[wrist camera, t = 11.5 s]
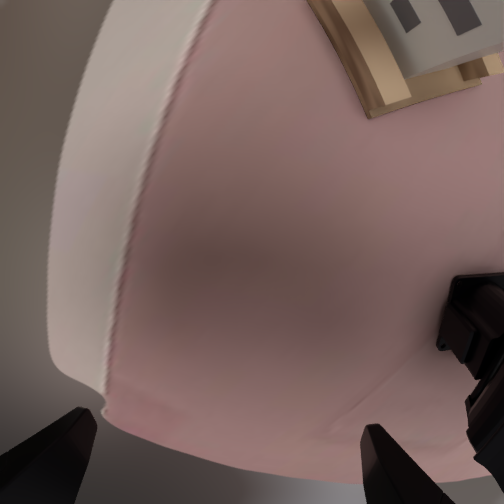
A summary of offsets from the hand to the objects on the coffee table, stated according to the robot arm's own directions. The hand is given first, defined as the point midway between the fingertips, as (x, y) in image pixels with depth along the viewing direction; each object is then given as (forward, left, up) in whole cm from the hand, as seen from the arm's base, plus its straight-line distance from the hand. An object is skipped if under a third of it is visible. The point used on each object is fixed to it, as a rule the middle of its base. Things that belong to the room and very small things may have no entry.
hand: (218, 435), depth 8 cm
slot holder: (-10, -15, -13) cm, 22 cm away
